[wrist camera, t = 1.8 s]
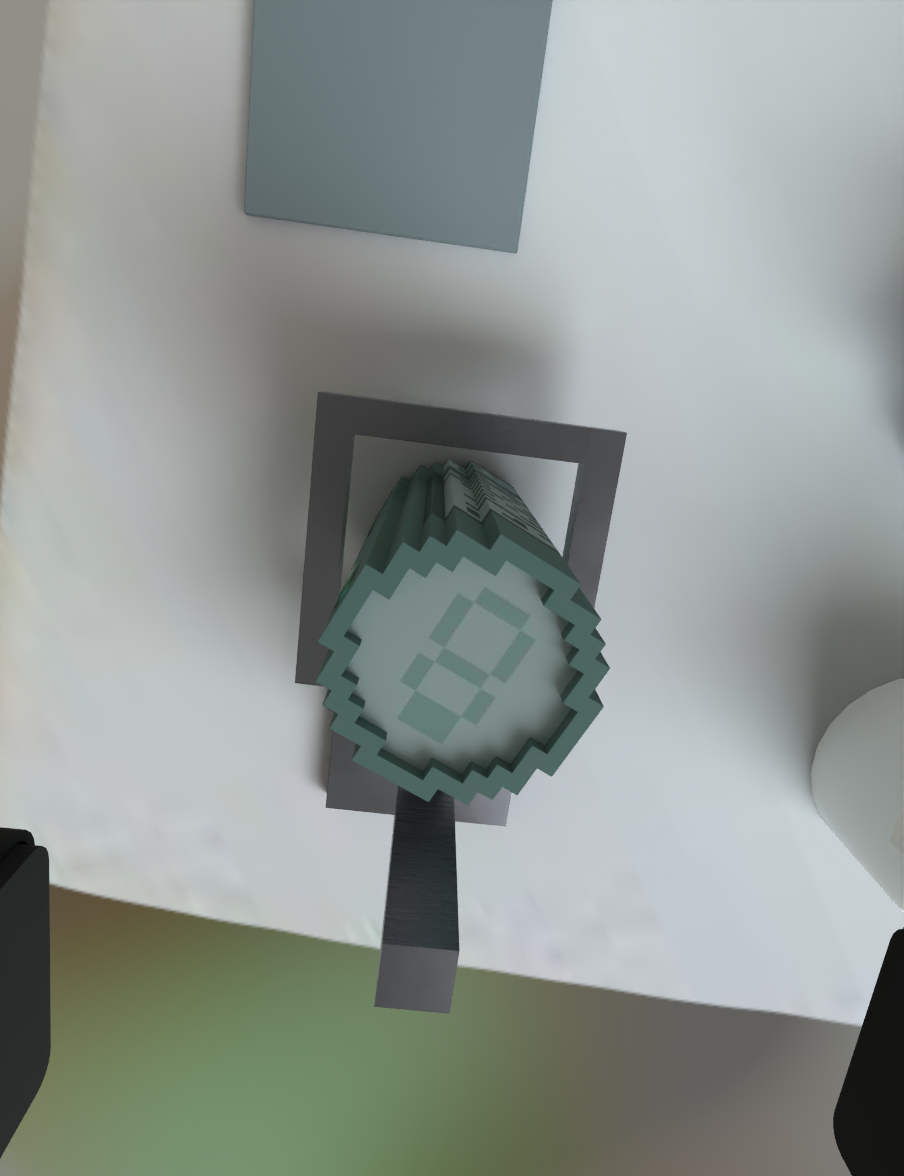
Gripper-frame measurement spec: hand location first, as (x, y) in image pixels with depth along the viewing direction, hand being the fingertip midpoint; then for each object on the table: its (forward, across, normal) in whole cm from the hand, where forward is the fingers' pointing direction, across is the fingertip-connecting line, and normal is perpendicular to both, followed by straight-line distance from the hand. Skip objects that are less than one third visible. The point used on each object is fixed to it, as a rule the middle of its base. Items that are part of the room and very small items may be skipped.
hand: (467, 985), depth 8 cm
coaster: (+23, +4, -17) cm, 29 cm away
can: (+24, 0, -1) cm, 24 cm away
